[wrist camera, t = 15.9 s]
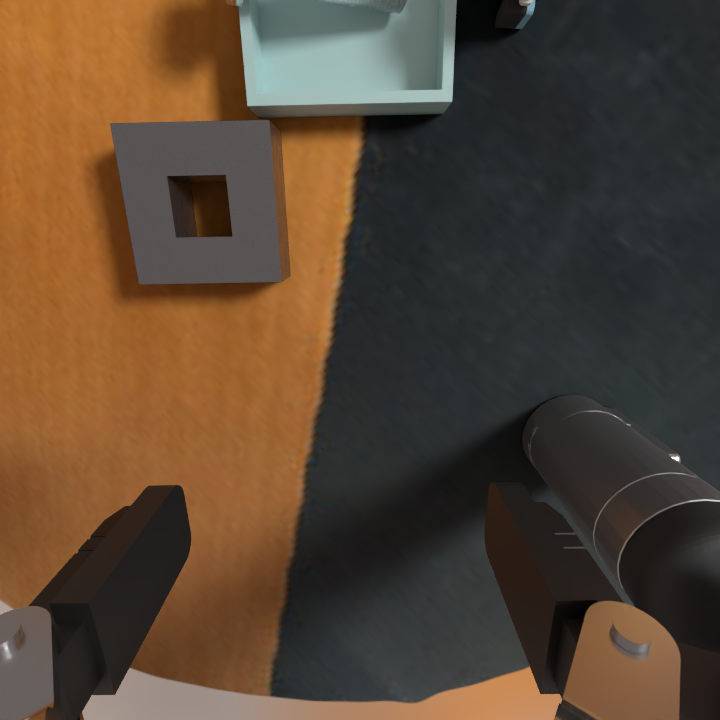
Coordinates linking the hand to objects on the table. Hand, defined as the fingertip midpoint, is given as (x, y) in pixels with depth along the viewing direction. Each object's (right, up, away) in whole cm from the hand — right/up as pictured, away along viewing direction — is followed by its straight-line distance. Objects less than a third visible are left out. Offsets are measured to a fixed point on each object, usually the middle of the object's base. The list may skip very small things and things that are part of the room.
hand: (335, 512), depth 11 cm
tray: (0, +32, +21) cm, 38 cm away
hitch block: (-12, +18, +26) cm, 34 cm away
